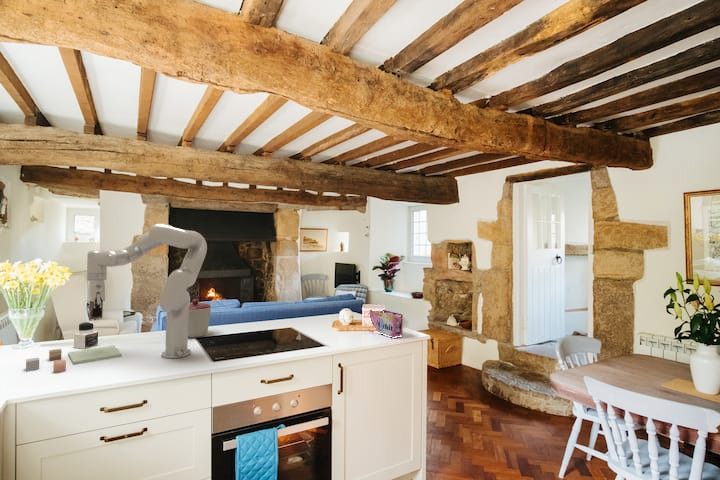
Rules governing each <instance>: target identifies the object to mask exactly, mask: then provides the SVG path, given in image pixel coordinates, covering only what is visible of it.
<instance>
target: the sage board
mask: <svg viewBox="0 0 720 480" xmlns="http://www.w3.org/2000/svg"><path fill="white" fill-rule="evenodd" d="M67 353H68V354H67V355H68V357H69V360H70V361H71V364H72V365H79V364H85V363H90V362H96V361H104V360H108V359H113V358H120V357H121V358H122V357H123V355H122V352H121V351H120V350H119V349H118V348H117V347H116V345H107V346H101V347H94V348H93V347H92V348H87V349H81V350H80V349H79V350H74V351H68V352H67Z"/></svg>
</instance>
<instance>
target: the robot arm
mask: <svg viewBox="0 0 720 480" xmlns="http://www.w3.org/2000/svg"><path fill="white" fill-rule="evenodd" d="M163 245H167V246H171V247H175V248H178V249H187V252H186V254H185V256H184V258H183V261H182V263H181V266H180V267H179V268H177V269H175V270H173V271H172V272H171V273H170V274H169V276H168V277H167V279H166V282H165V284H164V286H163V288H162V291H161V293H160V296H159V300H158V304H159V307H160V309H161V310H163V312H165V313H166V317H165V318H166V319H165V320H166V321H165V349H164V351H163V352H161V357H162V358H164V359H179V358H184V357H187V356H189V355H191V353H192V350H191V349H190V348H188V343H189V340H188V339H189V338H188V315H189V306H190V303H191V295H190V293H189V292H188V291H187V290H188V288H190V287H192V286H193V285H194V284H195V283H196V280H197V278H198V275H199V273H200V270H201V268H202V265H203V264H204V260H205V258H206V255H207V251H208V244H207V240H205V237H204V236H203V235H202V234H201V233H199V232H197V231H195V230H188V229H181V228H177V227H173V226H172V225H170V224H168V223H155V224H153V225H152V226H151V227H150V228H149V229H148V231H147V232H144V233H143V234H140V235H138V236H137V237H136V238H135V241H134V243H132V244H130V245H129V246H127V247H125V248H122V249H117V250H116V249H115V250H89V251H88V252H87V258H86V259H87V260H86V265H87V266H86V268H87V269H86V281H89V292H88V294H89V301H92V302H93V306H94V308H93V317H100V316H101V300H102V301H103V302H105V300H106V286H105V284H106V283H105V281H107V275H108V267H110V268H115V267H119V266H120V267H121V266H125V265H128V264H130V263H132V262H134V261H136V260H139V259H140V258H141V257H143V256H145V255H147V254H148V253H150V252H151V251H153V250H155V249H157V248H159V247H161V246H163ZM95 300H97V301H95ZM95 303H96V304H95Z"/></svg>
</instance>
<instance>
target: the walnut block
mask: <svg viewBox="0 0 720 480" xmlns="http://www.w3.org/2000/svg"><path fill="white" fill-rule="evenodd" d="M95 301H97V300H95ZM103 303H104V301H102V300H101V316H100V317H93V308H94V306H93V302H92V301H91V300H89V303H88V318H89V320H99V319H103V311H104V310H103V309H104V306H103ZM95 304H96V303H95Z"/></svg>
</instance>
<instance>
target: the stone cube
mask: <svg viewBox="0 0 720 480" xmlns="http://www.w3.org/2000/svg"><path fill="white" fill-rule="evenodd" d="M36 370H37V371H38V370H40V357H34V358H28V359H25V371H26V372H31V371H36Z"/></svg>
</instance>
